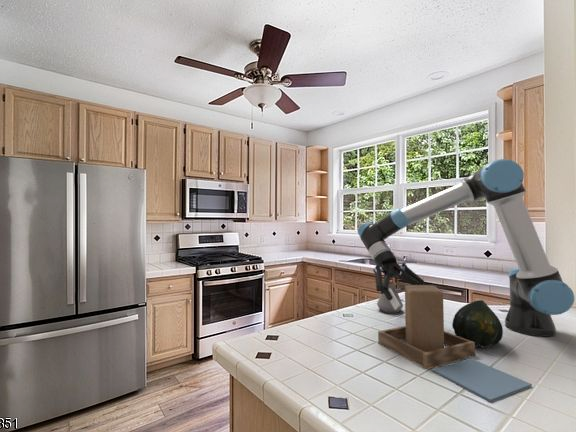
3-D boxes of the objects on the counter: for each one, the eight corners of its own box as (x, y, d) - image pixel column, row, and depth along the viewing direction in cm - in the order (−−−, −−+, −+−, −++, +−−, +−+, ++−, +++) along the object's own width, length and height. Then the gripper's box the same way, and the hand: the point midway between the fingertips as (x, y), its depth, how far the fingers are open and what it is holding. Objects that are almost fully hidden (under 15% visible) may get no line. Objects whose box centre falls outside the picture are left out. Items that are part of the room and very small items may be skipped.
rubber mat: (471, 360, 92) (471, 358, 92) (531, 386, 77) (531, 384, 77) (432, 371, 85) (432, 369, 85) (490, 402, 71) (490, 399, 71)
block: (445, 356, 95) (444, 291, 95) (410, 354, 97) (409, 290, 97) (436, 343, 104) (435, 284, 105) (405, 342, 106) (404, 284, 107)
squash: (448, 331, 101) (482, 298, 98) (440, 319, 115) (470, 290, 113) (486, 365, 97) (522, 332, 95) (474, 348, 111) (505, 319, 109)
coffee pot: (371, 309, 146) (371, 277, 146) (390, 306, 151) (390, 275, 151) (406, 322, 127) (405, 285, 127) (426, 318, 131) (425, 283, 132)
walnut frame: (422, 333, 114) (422, 322, 114) (475, 355, 95) (474, 342, 95) (378, 343, 106) (378, 331, 106) (426, 368, 87) (426, 354, 87)
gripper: (402, 260, 125) (434, 306, 111) (351, 264, 115) (378, 315, 101) (412, 248, 120) (446, 295, 106) (359, 251, 110) (389, 303, 96)
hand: (413, 305), depth 103 cm, fingers open, 13 cm apart
